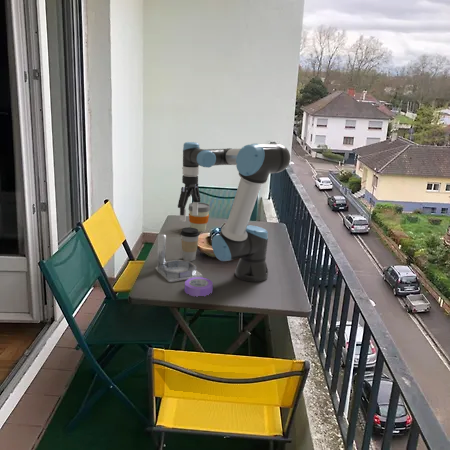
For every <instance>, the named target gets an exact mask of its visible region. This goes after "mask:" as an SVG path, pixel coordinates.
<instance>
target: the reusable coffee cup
mask: <svg viewBox="0 0 450 450" xmlns="http://www.w3.org/2000/svg"><path fill="white" fill-rule="evenodd" d="M192 208H193V202H190V203H189V204H188V212H189V213H188V221H189V226H190V227H189V228H196V229H198V232H199V233H200V232H201V233H202V232H205V231H206V230H207V226H208V225H207V224H208V222H209V217H210V214H209V213H210V211H211V207H210V204H209V203H205V202H201V201H200V202H198V215H192Z"/></svg>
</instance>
